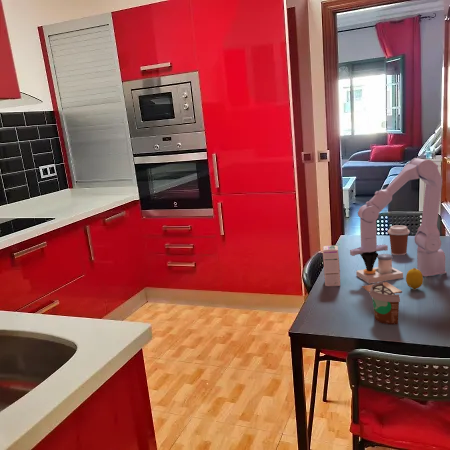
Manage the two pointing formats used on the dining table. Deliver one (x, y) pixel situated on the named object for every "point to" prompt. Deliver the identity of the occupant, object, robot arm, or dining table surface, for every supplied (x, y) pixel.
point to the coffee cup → (398, 239)
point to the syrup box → (331, 265)
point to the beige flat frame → (379, 275)
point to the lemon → (414, 278)
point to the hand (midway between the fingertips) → (369, 270)
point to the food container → (385, 304)
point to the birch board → (386, 284)
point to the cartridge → (384, 263)
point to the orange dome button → (369, 272)
